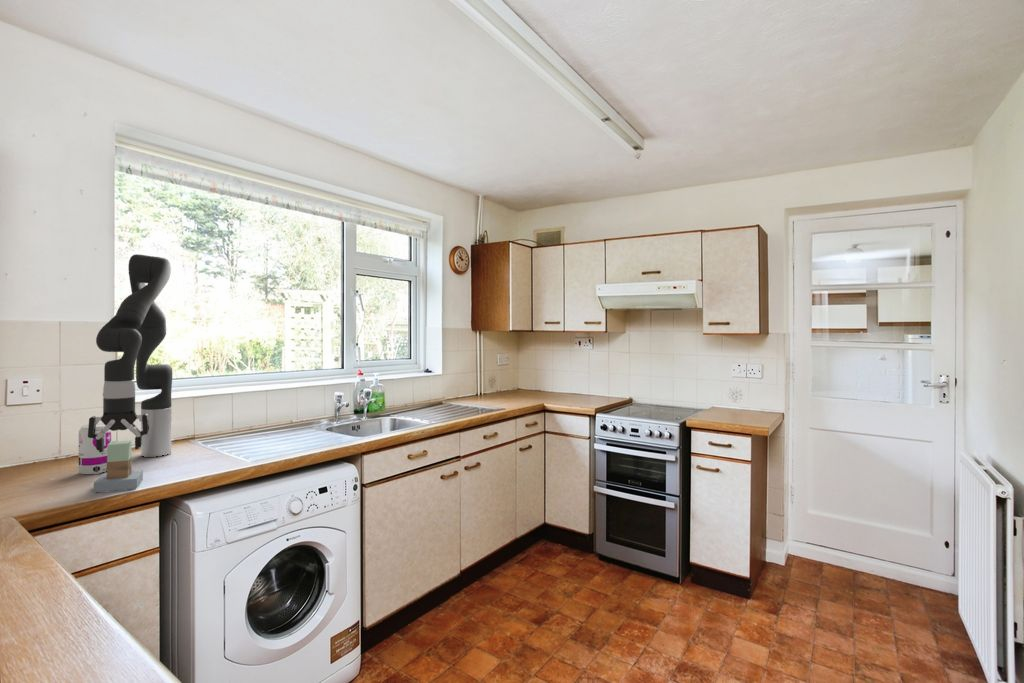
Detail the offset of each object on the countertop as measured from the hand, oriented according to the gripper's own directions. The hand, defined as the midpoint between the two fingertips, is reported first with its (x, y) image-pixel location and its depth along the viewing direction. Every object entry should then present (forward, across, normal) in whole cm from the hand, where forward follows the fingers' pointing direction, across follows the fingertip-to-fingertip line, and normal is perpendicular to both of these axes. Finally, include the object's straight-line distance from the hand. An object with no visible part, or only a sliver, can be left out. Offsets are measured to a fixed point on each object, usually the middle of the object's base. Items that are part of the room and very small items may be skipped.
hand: (119, 450), depth 152 cm
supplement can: (+11, +10, -21) cm, 26 cm away
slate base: (+11, 0, 0) cm, 11 cm away
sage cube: (+3, 0, 0) cm, 3 cm away
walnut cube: (+8, 0, 0) cm, 8 cm away
